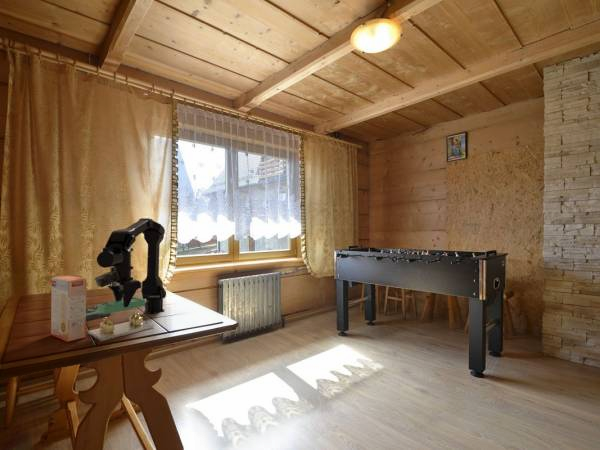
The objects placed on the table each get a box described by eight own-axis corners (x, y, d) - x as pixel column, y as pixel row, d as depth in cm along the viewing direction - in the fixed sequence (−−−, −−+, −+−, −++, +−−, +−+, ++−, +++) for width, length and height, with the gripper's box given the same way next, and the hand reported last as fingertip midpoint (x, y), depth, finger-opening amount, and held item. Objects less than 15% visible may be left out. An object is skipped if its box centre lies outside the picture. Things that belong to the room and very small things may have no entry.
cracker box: (87, 337, 107) (87, 278, 107) (66, 343, 102) (67, 280, 102) (70, 330, 115) (70, 274, 115) (50, 335, 110) (50, 276, 110)
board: (137, 303, 122) (137, 297, 122) (145, 306, 118) (145, 299, 118) (97, 310, 111) (97, 304, 111) (104, 314, 107) (104, 307, 107)
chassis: (139, 321, 125) (139, 308, 125) (153, 327, 118) (153, 313, 118) (88, 333, 111) (88, 318, 111) (100, 341, 104) (100, 325, 104)
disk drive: (70, 316, 134) (83, 322, 126) (70, 310, 134) (83, 315, 126) (97, 311, 143) (111, 316, 134) (97, 305, 143) (111, 310, 134)
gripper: (88, 264, 114) (88, 306, 114) (108, 268, 102) (107, 315, 102) (120, 261, 123) (120, 300, 123) (142, 265, 111) (142, 308, 111)
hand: (122, 305), depth 115 cm, fingers closed on board, 6 cm apart
